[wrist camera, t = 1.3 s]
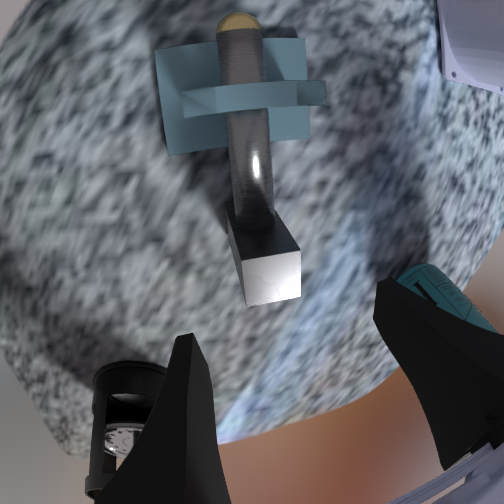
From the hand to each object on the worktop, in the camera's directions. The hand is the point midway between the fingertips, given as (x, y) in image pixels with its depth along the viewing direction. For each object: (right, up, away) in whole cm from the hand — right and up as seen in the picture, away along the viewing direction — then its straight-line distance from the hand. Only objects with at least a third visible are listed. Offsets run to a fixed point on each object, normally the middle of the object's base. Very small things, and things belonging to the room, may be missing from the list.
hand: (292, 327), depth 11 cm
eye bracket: (-2, +12, +4) cm, 13 cm away
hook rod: (-2, +9, +5) cm, 11 cm away
